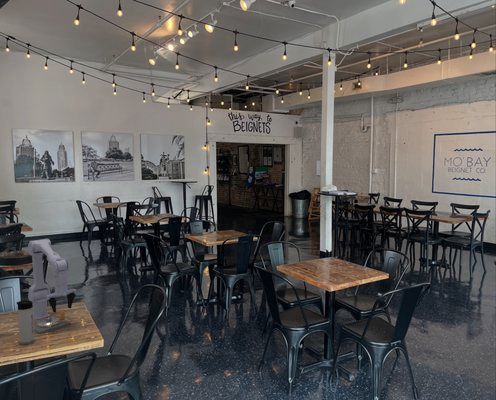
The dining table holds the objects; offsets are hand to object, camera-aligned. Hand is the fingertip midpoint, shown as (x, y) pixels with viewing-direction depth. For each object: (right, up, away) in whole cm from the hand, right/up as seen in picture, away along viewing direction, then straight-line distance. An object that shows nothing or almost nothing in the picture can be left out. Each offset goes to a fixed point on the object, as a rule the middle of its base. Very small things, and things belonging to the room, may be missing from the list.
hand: (62, 309), depth 200 cm
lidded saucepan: (-8, -8, +6) cm, 13 cm away
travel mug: (-10, -12, -14) cm, 21 cm away
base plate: (-9, -10, +6) cm, 15 cm away
